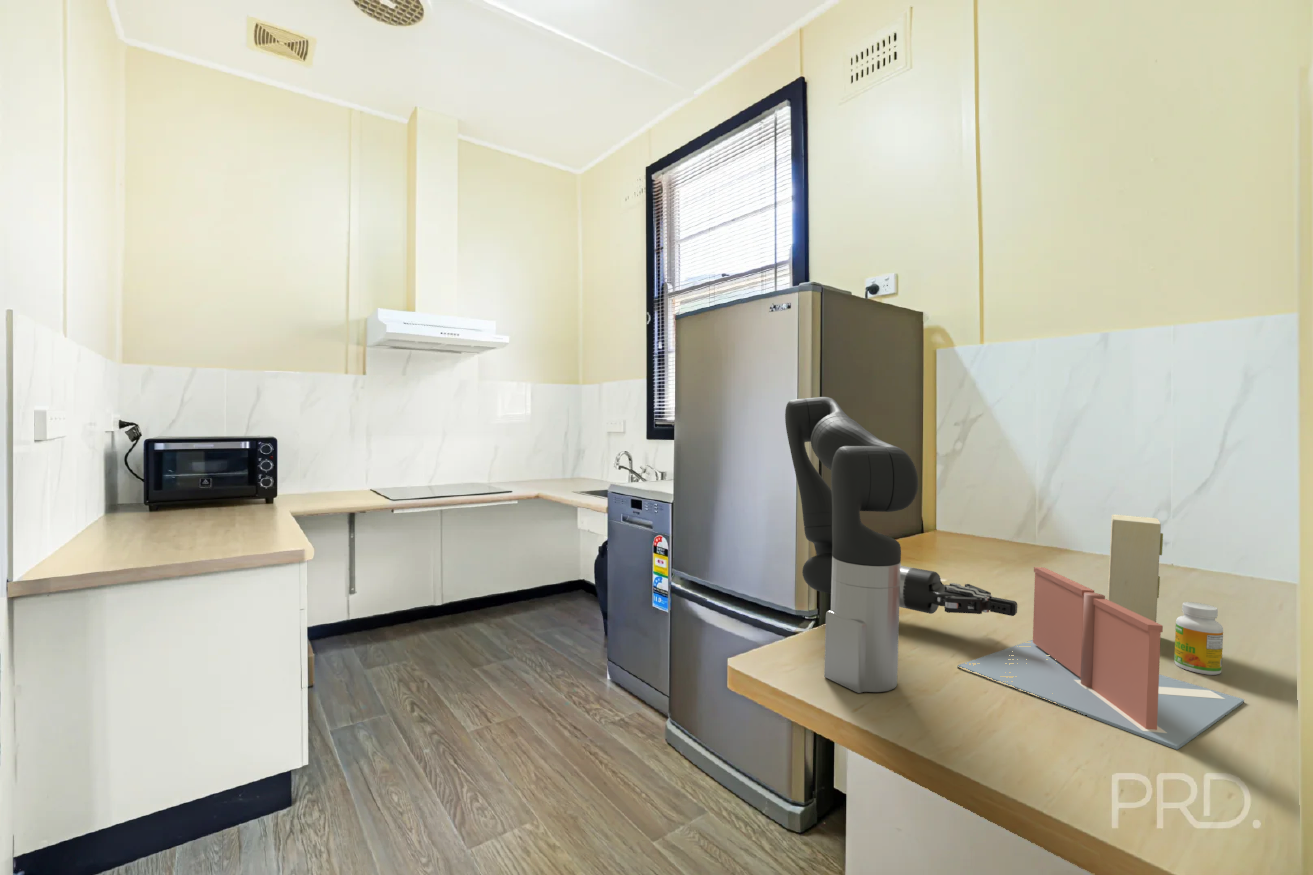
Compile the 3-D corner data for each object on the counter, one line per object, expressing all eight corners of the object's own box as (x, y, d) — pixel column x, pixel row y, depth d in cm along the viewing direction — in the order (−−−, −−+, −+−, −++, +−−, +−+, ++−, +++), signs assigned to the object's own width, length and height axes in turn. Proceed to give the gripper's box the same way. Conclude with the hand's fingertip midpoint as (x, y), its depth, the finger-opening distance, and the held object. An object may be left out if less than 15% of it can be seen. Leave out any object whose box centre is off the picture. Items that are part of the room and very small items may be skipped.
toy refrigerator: (1161, 648, 99) (1166, 523, 99) (1106, 638, 104) (1110, 518, 103) (1158, 635, 106) (1162, 518, 105) (1106, 626, 110) (1110, 513, 110)
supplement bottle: (1164, 661, 94) (1166, 600, 93) (1196, 661, 94) (1198, 600, 94) (1198, 675, 88) (1200, 611, 88) (1231, 675, 89) (1234, 611, 88)
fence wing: (1091, 678, 85) (1094, 590, 84) (1079, 677, 85) (1082, 589, 84) (1041, 642, 98) (1044, 567, 98) (1031, 642, 99) (1033, 567, 98)
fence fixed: (1162, 733, 71) (1166, 624, 71) (1140, 731, 71) (1144, 622, 71) (1095, 685, 84) (1098, 592, 84) (1076, 683, 85) (1080, 591, 84)
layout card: (1177, 749, 67) (1177, 745, 67) (957, 667, 89) (957, 664, 89) (1244, 702, 80) (1244, 698, 80) (1036, 640, 102) (1036, 638, 102)
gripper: (895, 573, 105) (1007, 594, 93) (922, 562, 114) (1025, 579, 103) (894, 615, 105) (1005, 641, 93) (920, 600, 114) (1024, 622, 103)
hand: (1016, 608), depth 98 cm, fingers closed
